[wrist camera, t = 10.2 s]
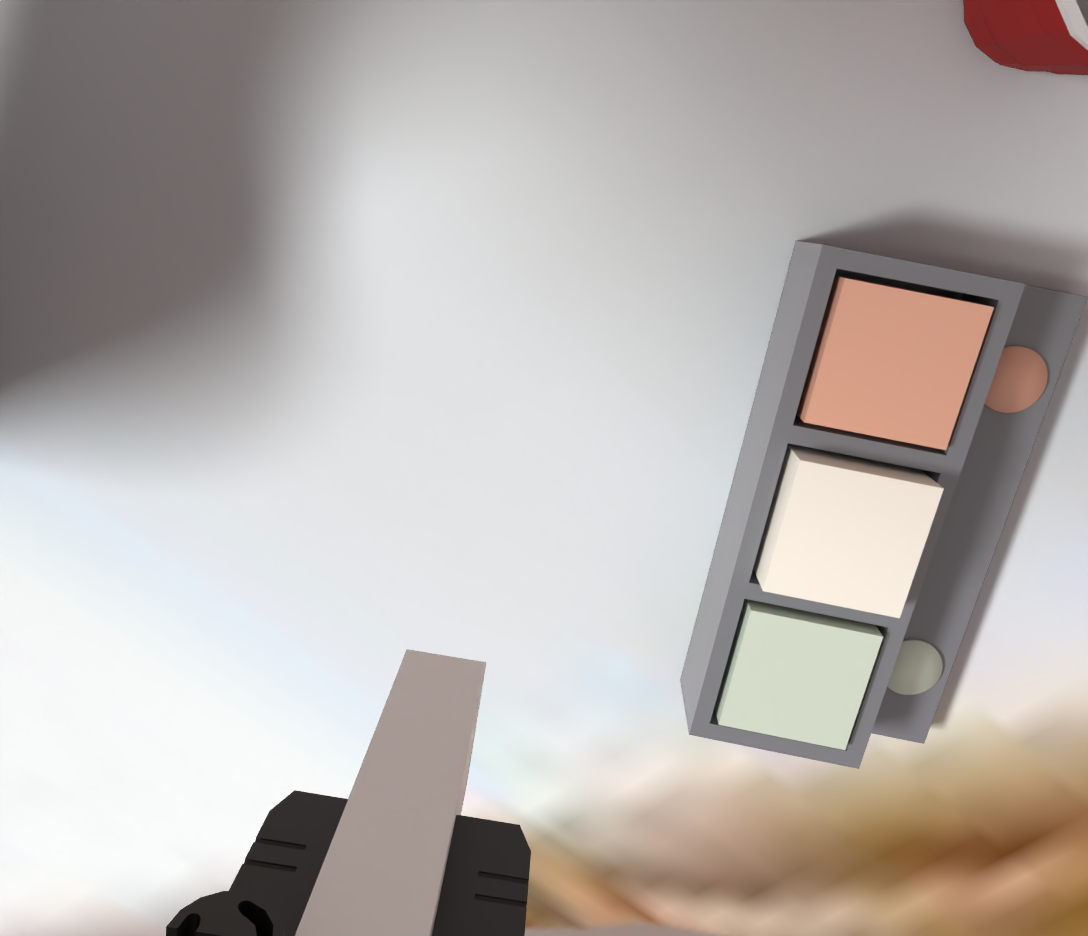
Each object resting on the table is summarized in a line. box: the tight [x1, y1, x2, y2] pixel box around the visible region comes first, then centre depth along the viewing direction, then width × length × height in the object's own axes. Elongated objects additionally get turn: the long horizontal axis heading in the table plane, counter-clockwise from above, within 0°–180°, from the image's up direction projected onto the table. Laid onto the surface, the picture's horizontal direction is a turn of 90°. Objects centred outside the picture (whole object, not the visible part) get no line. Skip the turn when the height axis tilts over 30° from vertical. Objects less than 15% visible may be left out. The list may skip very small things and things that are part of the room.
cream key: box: [753, 443, 944, 618], centre depth 38 cm, size 6×6×3 cm
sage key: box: [715, 599, 883, 750], centre depth 41 cm, size 6×6×3 cm
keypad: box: [680, 241, 1088, 769], centre depth 40 cm, size 13×23×5 cm, turn 169°
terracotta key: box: [796, 275, 994, 450], centre depth 36 cm, size 6×6×3 cm
